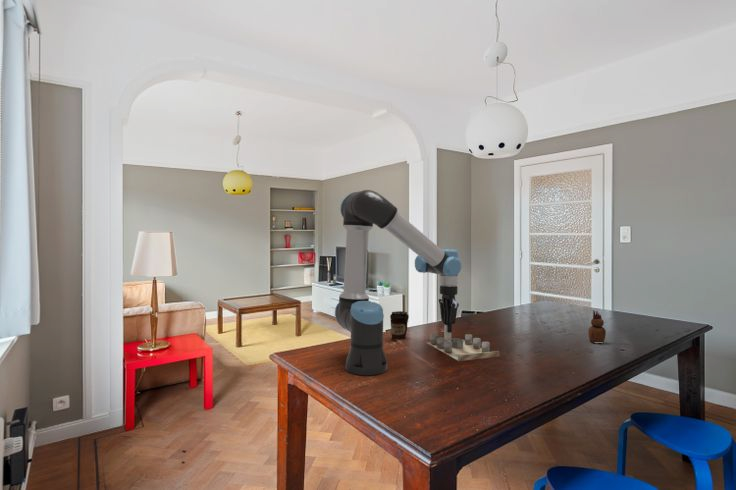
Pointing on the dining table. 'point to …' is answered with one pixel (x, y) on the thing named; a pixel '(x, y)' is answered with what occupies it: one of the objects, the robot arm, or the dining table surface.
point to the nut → (457, 343)
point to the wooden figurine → (597, 329)
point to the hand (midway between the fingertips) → (447, 339)
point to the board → (467, 351)
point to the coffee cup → (399, 325)
